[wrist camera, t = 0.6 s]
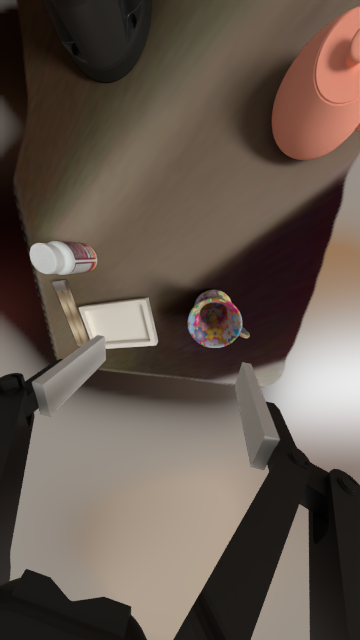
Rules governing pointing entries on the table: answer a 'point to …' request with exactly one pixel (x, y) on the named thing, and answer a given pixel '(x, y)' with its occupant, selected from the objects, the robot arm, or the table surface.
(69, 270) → the pill bottle
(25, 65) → the table surface
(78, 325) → the tongs
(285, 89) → the pink teapot
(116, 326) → the tray
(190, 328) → the mug
